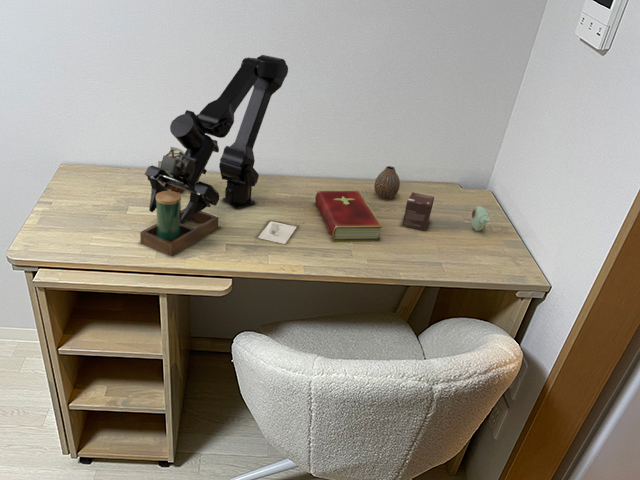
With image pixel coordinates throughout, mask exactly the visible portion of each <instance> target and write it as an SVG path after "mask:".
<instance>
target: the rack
mask: <svg viewBox="0 0 640 480" xmlns="http://www.w3.org/2000/svg"><path fill="white" fill-rule="evenodd" d="M185 209H186V207H185V208H183V209H181V217H182V215H183V213H184V211H185ZM189 220H190V221H192V222H196V223H198V224H200V225H198V226H196V227H195V228H194V227H191V226H188V225H186V224H185V223H183V224H181V237H179V238H177V239H175V240H174V241H172V242H170V241H167V240H165V239H162V238H160V237H157V223H155V224H153V225H150V226H149V227H147V228H145V229H143V230H141V231H140V232H139V234H140V236H139V237H140V244H141V245H144V246H147V247H149V248H151V249H154V250H156V251H158V252H161V253H163V254H166V255H168V256H171V257H173V256H174V255H176V254H178V253H179V252H181V251H183V250H184V249H186V248H188V247H190V246H191V245H193V244H194V243H196V242H197V241H199V240H201V239H203V238H204V237H206V236H207V235H210V234H211V233H213V232H214V231H216V230H218V229H219V221H220V217H219V216H216V215H214V214H210V213H208V212H205V211H203V210H201V211H200V212H198V213H197V214H195V215H194V216H193V217H191V218H190V219H189Z"/></svg>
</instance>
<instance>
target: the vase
mask: <svg viewBox="0 0 640 480" xmlns="http://www.w3.org/2000/svg"><path fill="white" fill-rule="evenodd" d="M400 186H401V181H400V177H399V175H398V173H397V170H396V168H395V167H394V166H392V165H387V166H386V167H385V168H384V169H383V170H382V171H381V172H380V173H379V174H378V175H377V177H376V178H375V181H374V187H373V188H374V193H375V195H376V197H378V199H381V200H387V201H388V200H391V199H393V198H394V197H396V196H397V194H398V192H399V190H400V188H401V187H400Z"/></svg>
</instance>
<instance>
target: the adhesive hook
mask: <svg viewBox="0 0 640 480" xmlns="http://www.w3.org/2000/svg"><path fill="white" fill-rule="evenodd" d="M279 223H280V222H277V221H272V223H271V226H270V228H269V229H268V233H269V234H271V235H274V236H278V235H279V234H280V233H281V231H280V227H281V226H282V225H281V224H279Z"/></svg>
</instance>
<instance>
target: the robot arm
mask: <svg viewBox="0 0 640 480" xmlns="http://www.w3.org/2000/svg"><path fill="white" fill-rule="evenodd" d="M288 73H289V67H288V64H287V62H286V60H285V59H284V58H280V57H275V56H270V55H266V54H261V55H259V56H257V57H245V58H243V59H242V60H241V63H240V67H239V69H238V70H237V71H236V73H235V74H234V76H233V77H232V79H231V80H230V81H229V83H228V84H227V85H226V87H225V88H224V90H223V91H222V92H221V93H220V95H219V97H218V98H216V99H215V100H212V101H210V102H208V103H207V104H206V105H205V106H204V107H203V108H202V110H201V111H200V112H199V113H198V114H196V113H195V112H194V111H192V110H188V109H187V110H185V112H184V113H182V114H180V115H178V116H177V117H175V118H174V119H172V121H171V123H170V126H169V131H170V133H171V134H172V136H173V137H174V138H175V139H176V140H177V141H178V142H179V143H180V145H181V146H182V147H183V148H185V151H184V152H185V153H184V155H182V154H180V155H179V156H178V158H177V159H175V158H172V157H168V156H165V155H163V157H162V160H161V161H162V164H161V167H160V168H158V166H155V165H150V166H148V167H147V168H146V170H145V172H144V175H145V176H146V177H147V181H149V182H150V186H151V187H150V188H151V189H150V190H151V191H150V192H151V194H150V202H149V209H148V210H149V212H150V213H153V212H155V211H156V194H157V193H159V192H162V191H168V190H167V189H166V188H167V187H169V186H170V185H172V186H175V187H178V188H181V189H183V190H184V191H187V192H189V193H190V194H189V201H188V203H187V205H186V207H185V208H186V209H185V208H184V209H185V211H184V213H183V215H182V217H181V219H180V223H181V224H185V223H186V222H188V221H189V220H190V218H191V217H193V216H194V215H195V214H197V213H198V212H200V211H203V210H204V209H206V208H211V205H212V206H215V207H216V206H217V205H218V203H219V201H220V193H219V192H218V191H217V190H216V188H215V187H214V186H212V185H211V184H208V183H205V182H203V181H199V180H200V178H201V176H202V175H206V173H207V171H208V170H207V169H206V167H207V164H208V163H209V161H210V158H211V156H212V155H213V153H219V152H220V148H219V145H218V140H216V139H213V138H212V137H215V138H219V139H224V138H226V136H228V135H229V132H230V131H231V128H232V127H233V125H234V123H235V113H236V111H237V109H238V108H239V107H240V105H241V104H242V102H243V101H244V100H245V98H246V96H247V95H248V94H249V92H250V91H251V89H252V88H253V89H252V92H251V95H250V97H249V100H248V103H247V107H246V109H245V112H244V114H243V118H242V120H241V123H240V127H239V129H238V132H237V135H236V137H235V140H234V142H233V143H232V144H231V145H230V146H229V145H225V147H224V148H223V152H222V155H221V157H220V159H219V165H218V166H219V167H218V168H219V172H220V176H221V177H220V178H221V179H222V180H223V181H224V180H225V181H226V187H225V191H224V197H223V198H222V201H223V202H224V203H225V204H228V205H229V206H231V207H233V208H235V209H240V208H244V207H247V206H251V205H254V204H255V200H253V199H252V190H253V187H256V184H258V181H259V176H260V174H259V173H258V172H257V170H256V169H255V167H254V166H255V161H256V160H255V154H254V146H255V143H256V141H257V137H258V135H259V132H260V129H261V127H262V123H263V120H264V118H265V115H266V112H267V109H268V107H269V103H270V102H271V99H272V96H273V95H274V94H275V93H276V92H277V91H279V90H280V88H282V86H283V83H284V81H285V80H286V78H287V76H288ZM211 136H212V137H211ZM164 170H167V171H168V172H169V173H170V174H171V175H173V177H171V176H170V175H168V174H167V173H166V172H165V171H164ZM178 183H180V184H178Z"/></svg>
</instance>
